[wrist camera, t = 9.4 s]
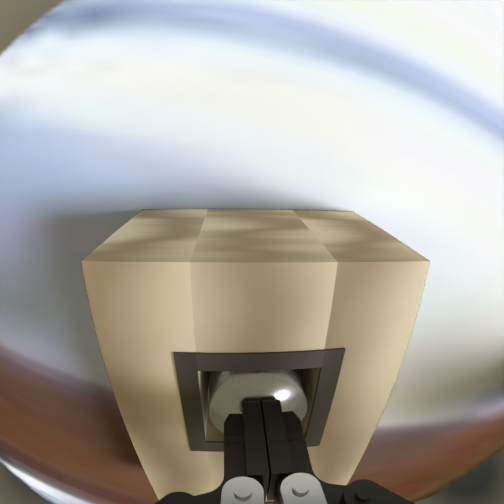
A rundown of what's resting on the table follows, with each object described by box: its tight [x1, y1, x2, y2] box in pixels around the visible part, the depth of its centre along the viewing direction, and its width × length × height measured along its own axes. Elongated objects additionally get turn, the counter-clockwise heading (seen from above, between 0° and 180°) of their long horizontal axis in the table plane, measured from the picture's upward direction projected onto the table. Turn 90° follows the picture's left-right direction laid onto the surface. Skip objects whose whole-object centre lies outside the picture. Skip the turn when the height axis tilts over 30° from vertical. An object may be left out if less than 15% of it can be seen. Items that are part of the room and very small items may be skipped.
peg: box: [209, 369, 307, 433], centre depth 15 cm, size 4×4×8 cm
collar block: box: [81, 209, 430, 504], centre depth 18 cm, size 12×26×8 cm, turn 179°
